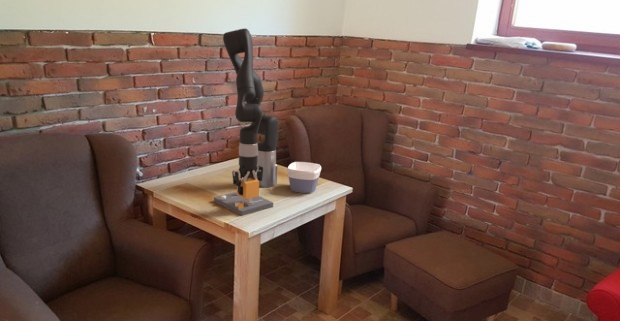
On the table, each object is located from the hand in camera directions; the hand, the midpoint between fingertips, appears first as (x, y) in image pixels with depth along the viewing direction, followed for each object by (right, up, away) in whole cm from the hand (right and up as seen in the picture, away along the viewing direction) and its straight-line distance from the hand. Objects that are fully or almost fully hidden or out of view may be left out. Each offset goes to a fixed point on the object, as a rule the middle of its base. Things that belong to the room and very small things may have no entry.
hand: (247, 193), depth 187 cm
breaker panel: (-3, -5, +6) cm, 8 cm away
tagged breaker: (0, -4, +1) cm, 5 cm away
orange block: (0, -1, 0) cm, 1 cm away
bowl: (+22, 0, +28) cm, 36 cm away
